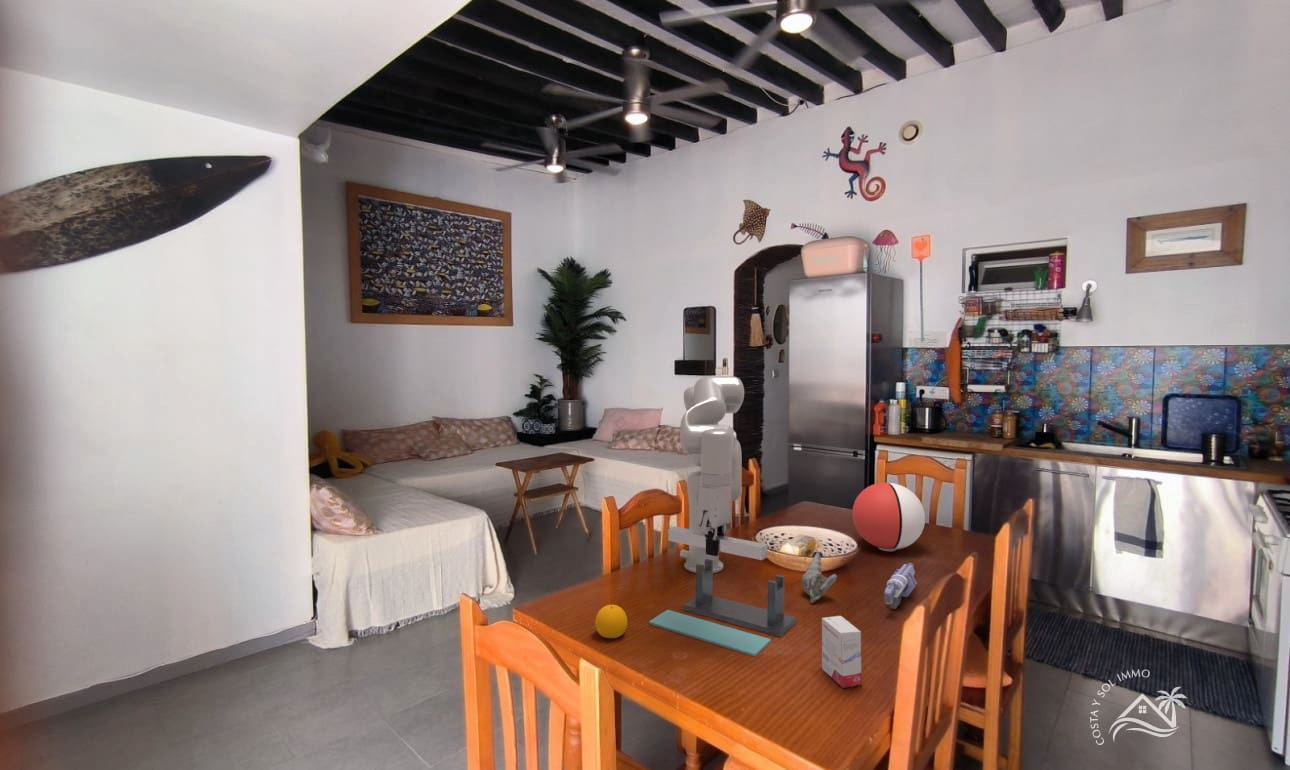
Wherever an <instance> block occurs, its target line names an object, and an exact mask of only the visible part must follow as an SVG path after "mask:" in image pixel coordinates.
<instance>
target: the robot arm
mask: <svg viewBox="0 0 1290 770" xmlns="http://www.w3.org/2000/svg"><path fill="white" fill-rule="evenodd" d="M744 398H745V387H744V384H743V382H742V380H741V379H740V378H739V377H737V376H730V375H728V376H727V375H726V376H723V375H721V376H720V375H717V376H716V375H715V376H713V375H711V376H709V375H708V376H703V377H701V378H699V379H698V380H697V381H695V384H694V386H690V387H687V388H686V389H685V390H684V391H683V404H684V407H685V410H686V411H685V413H684V414H683V416H682V418H681V421H680V427H679V430H680V431H679V435H680V436H679V437H680V438H679V439H680V445H681V449H682V450H683V452H685V453H686V454H690V455H691V460H692V463H693V465H695V466H696V467H698V468H699V467H700V470H696V471H694V472H691V473H690V474H689V475H688V477H687V478H686V489H687V490H686V491H687V495H688V506H689V508H688V509H689V516H688V517H689V518H688V519H689V521H688V523H689V528H688V529H690V530H695V531H700V532H701V533H703V534H704V535H705V539H706V548H701V547H696V546H691V545H688V548H689V550H686V549H681V550H680V552H679V557H680V558H683V559H685V562H684V568H685V569H686V570H687V571H689V572H692V573H695V574H696V564H701V565H704V569H705V559H709V560H713V574H717V573H718V572H721V571H722V570H723V569H724V563H723V562H722V561H721V560H720V559H719V558H720V556H719V553H721V552H720V551H718V540H716V539H717V535H722V536H727V534H728V533H727V529H728V525H729V523H730V522H731V520H732V516H733V501H737V500H739V499H740V497H741V494H742V484H743V481H742V473H743V471H742V469H743V467H742V462H743V461H742V460H743V459H742V448H741V447H742V446H741V443H740V442H739V440H738V439H737V433H736V431H735V430H734V428H733V427H731V426H730V425H728V424H719V423H720V421H722V420H723V419H724V417H725V416H726V414H737V412H738V411H739V410H740V409H741V406H742V405H743V403H744Z"/></svg>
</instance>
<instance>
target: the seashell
mask: <svg viewBox="0 0 1290 770" xmlns="http://www.w3.org/2000/svg"><path fill="white" fill-rule="evenodd" d="M821 557H822V555H821V551H816V553H815V555H814V556H813V558H812V560H811V561H810V563H809V566H808V567H807V568H806V569H805V573H804V574H803V575H802V578H801V587H802V589H803V591H804V592H805V594H807V595H808V596H809V597H810V604H811V603H812V604H814V603H815V602H816V601H817V600H819V599H821V598H822V597H824V595H826V593H827V591H828V589H829V588H831V586H832V585H834V584H835V582H836V581H837V578H838V575H837V574H835V573H834V574H832V575H830V576H829V577H825V576H824V575H823V573H822V571H823V570H822V558H821Z"/></svg>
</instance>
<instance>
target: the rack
mask: <svg viewBox="0 0 1290 770" xmlns="http://www.w3.org/2000/svg"><path fill="white" fill-rule="evenodd" d="M713 574H714V573H713V560H709V559H705V569H704V565H701V564H696V573H695V596H694V598H692V599H691V600H689V601H687V602H685V603H684V604H683V611H686V612H689V613H693V614H696V615H700V616H703V617H707V618H710V619H714V620H718V621H721V622H724V623H728V624H732V625H735V626H739V627H743V628H746V629H749V630H753V631H757V632H759V633H764V634H768V635H771V636H774V637H778V638H782V637H783V636H784V635H785V634H786V633H787V632H789V630H790V629H791V628H792V627H793V626H794V625H795V624H797V617H796V616H794V615H793V616H792V615H788V614H785V575H781V574H776V575H775V578H774V580H771V579H769V580H768V581H767V608H763V607H762V608H761V607H757V606H754V605H750V604H748V603H747V604H746V603H742V602H738V601H735V600H731V599H727V598H723V597H719V596H715V595H714V594H713V588H714V587H713V586H714V585H713V584H714V583H713V582H714V581H713V580H714V578H713V577H714V576H713Z"/></svg>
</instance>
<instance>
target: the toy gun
mask: <svg viewBox="0 0 1290 770" xmlns="http://www.w3.org/2000/svg"><path fill="white" fill-rule="evenodd" d="M915 572H916V571H915V566H914V564H913V563H912V562H909V563H903V565H902V566H901V567H900V568H897V569H895V571H894V572H893V574H892V575H891V577H890V578H889V580H887V582H886V587H885V590H884V602H883V603H884V604H887V605H890V609H892V610H896V609H897V607H899V605H900V604H901V601H902V597H904V598H908V597H909V595H910V594H911V593H912V591H914V588H915V587H916V586H917V584H918V583H917V581H916V579H915V577H914V575H915Z"/></svg>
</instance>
